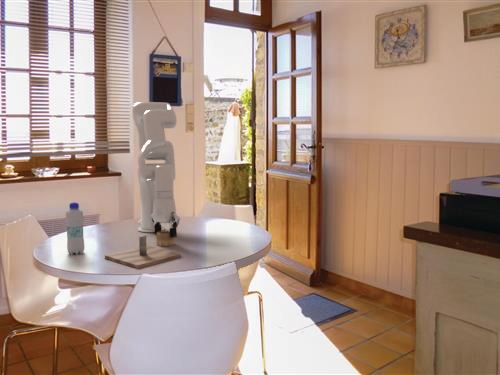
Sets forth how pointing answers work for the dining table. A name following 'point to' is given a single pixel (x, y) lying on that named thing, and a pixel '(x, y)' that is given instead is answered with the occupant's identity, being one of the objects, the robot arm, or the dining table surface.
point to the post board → (142, 255)
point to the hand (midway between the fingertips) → (165, 235)
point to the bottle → (74, 229)
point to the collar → (164, 238)
